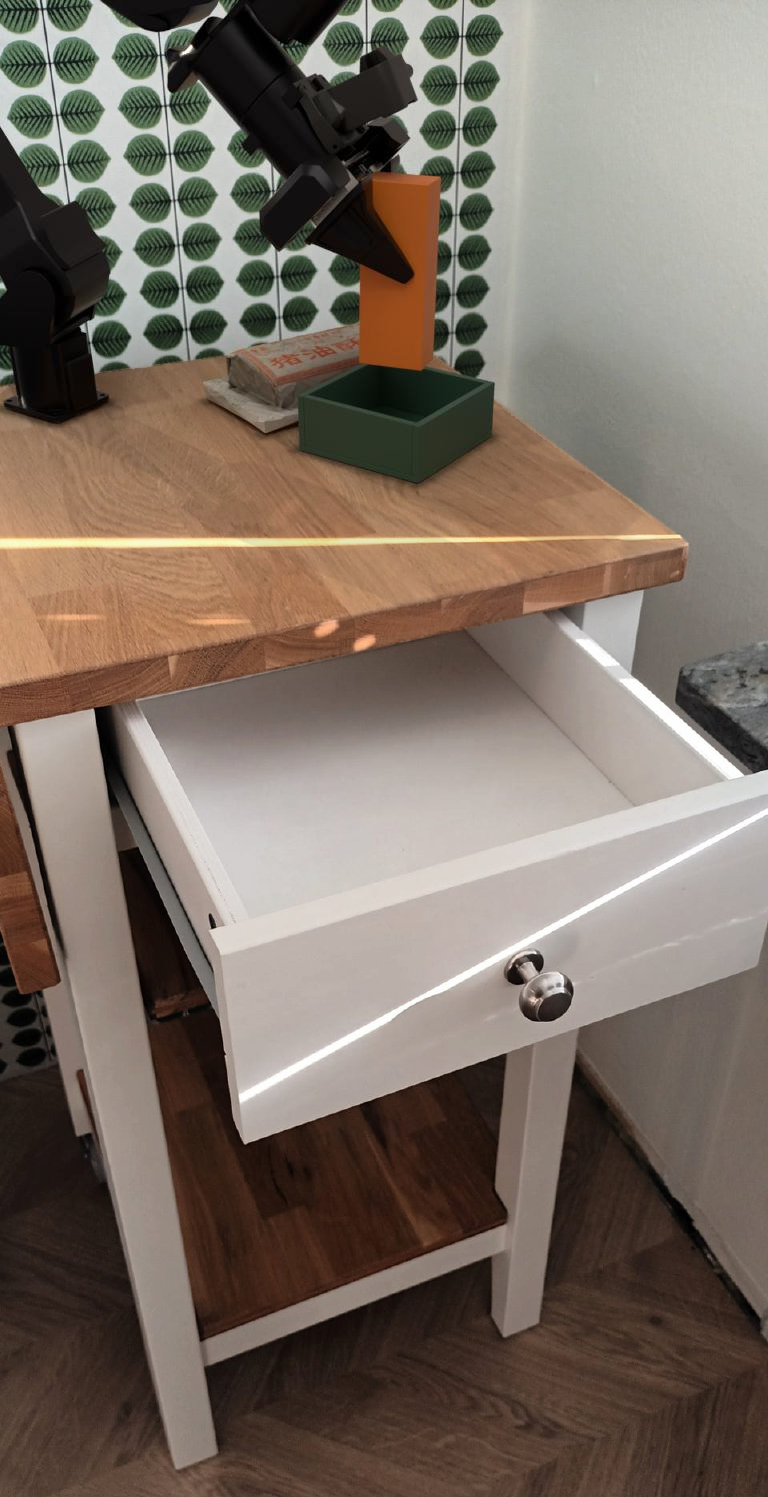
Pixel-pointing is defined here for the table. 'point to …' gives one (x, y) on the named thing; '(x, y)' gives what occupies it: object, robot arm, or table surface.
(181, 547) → the table surface
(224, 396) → the packaged product
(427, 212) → the tall orange pillar
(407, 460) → the green square open box
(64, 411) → the robot arm
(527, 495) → the table surface
